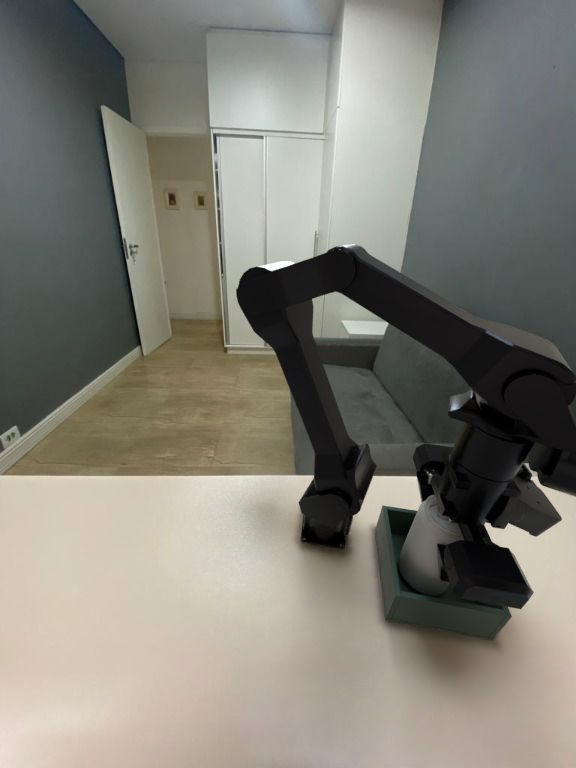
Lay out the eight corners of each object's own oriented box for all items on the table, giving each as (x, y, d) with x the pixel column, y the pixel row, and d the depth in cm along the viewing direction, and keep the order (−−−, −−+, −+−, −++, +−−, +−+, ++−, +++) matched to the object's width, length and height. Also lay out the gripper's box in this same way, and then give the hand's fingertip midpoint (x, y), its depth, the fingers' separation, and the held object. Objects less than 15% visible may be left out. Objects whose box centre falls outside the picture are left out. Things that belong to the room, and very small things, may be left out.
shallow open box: (385, 619, 37) (395, 595, 34) (375, 529, 47) (382, 505, 45) (492, 640, 36) (512, 616, 33) (457, 542, 46) (470, 518, 43)
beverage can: (452, 605, 38) (491, 544, 32) (398, 591, 39) (427, 530, 33) (440, 556, 43) (472, 497, 38) (394, 545, 44) (417, 486, 39)
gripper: (651, 566, 22) (548, 658, 30) (520, 418, 38) (475, 502, 46) (489, 539, 23) (430, 635, 31) (428, 406, 39) (399, 490, 47)
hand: (436, 552), depth 39 cm, fingers closed on beverage can, 6 cm apart
